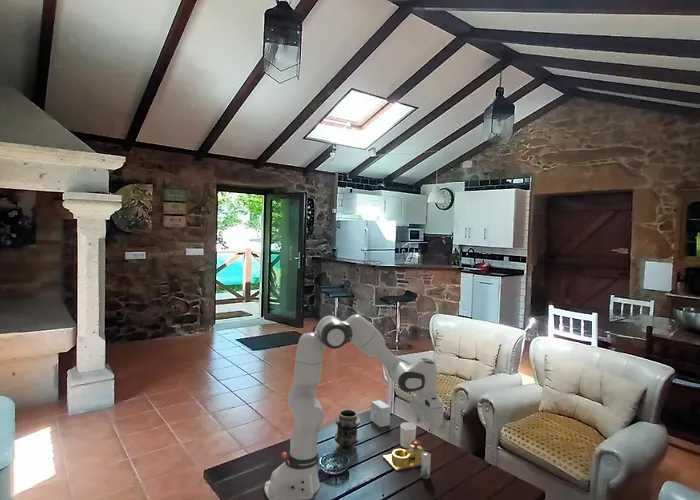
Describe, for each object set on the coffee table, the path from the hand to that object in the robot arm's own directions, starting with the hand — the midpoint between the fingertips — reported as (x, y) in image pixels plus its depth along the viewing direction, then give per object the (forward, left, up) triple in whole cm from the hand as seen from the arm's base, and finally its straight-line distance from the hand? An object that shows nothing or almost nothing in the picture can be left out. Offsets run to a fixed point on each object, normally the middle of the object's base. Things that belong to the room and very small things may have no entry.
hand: (425, 427), depth 191 cm
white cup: (+8, +25, -22) cm, 35 cm away
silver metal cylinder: (+1, -1, -22) cm, 22 cm away
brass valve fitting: (0, +13, -22) cm, 26 cm away
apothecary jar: (-22, +32, -22) cm, 45 cm away
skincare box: (+7, +52, -22) cm, 57 cm away
